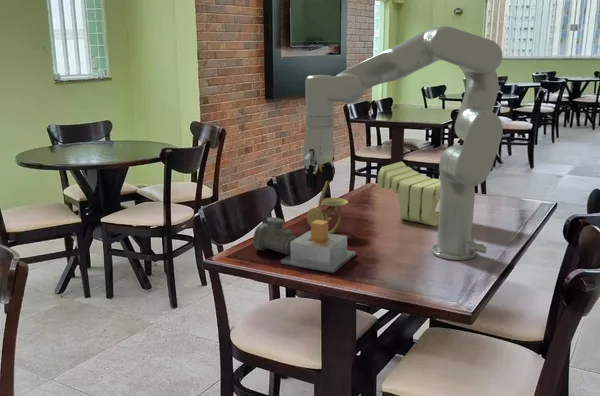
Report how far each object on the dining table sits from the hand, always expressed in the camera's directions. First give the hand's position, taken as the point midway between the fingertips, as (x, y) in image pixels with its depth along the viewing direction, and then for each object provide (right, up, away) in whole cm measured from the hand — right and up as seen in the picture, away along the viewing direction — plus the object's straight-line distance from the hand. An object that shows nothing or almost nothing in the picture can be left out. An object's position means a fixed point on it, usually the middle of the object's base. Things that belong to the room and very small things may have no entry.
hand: (320, 184), depth 160 cm
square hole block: (0, -21, +5) cm, 22 cm away
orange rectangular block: (0, -20, +5) cm, 21 cm away
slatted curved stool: (+38, -12, +44) cm, 60 cm away
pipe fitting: (-13, -20, +12) cm, 26 cm away
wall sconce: (+4, -16, +27) cm, 32 cm away
